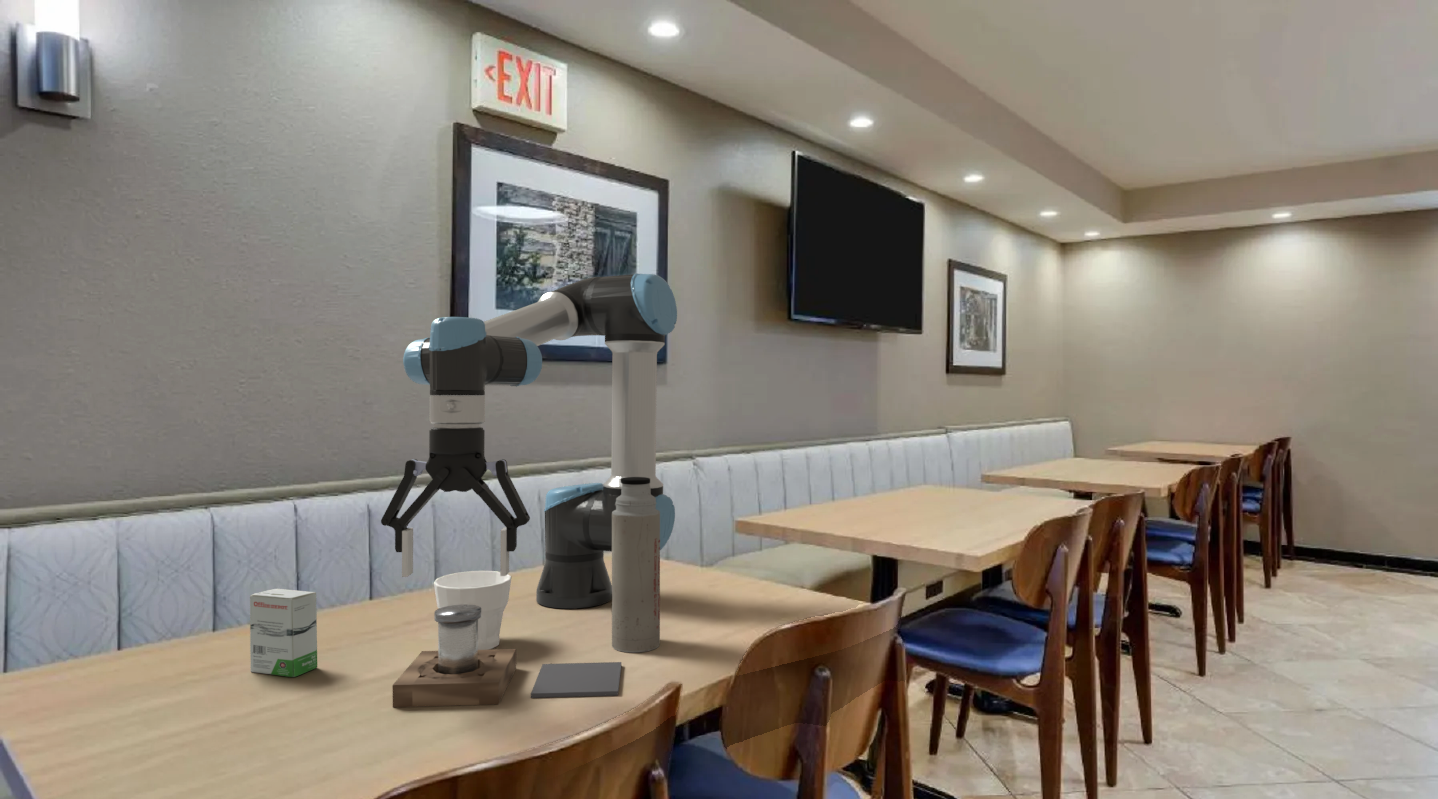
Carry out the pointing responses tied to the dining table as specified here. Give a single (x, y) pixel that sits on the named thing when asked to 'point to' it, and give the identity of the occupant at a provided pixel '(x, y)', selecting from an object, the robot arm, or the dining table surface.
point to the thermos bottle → (635, 568)
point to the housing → (455, 681)
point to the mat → (577, 680)
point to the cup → (477, 599)
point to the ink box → (283, 632)
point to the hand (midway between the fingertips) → (456, 574)
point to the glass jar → (457, 638)
